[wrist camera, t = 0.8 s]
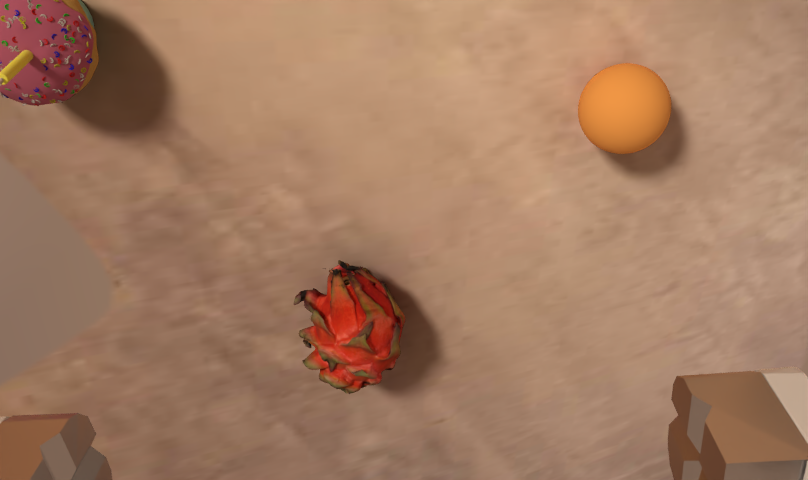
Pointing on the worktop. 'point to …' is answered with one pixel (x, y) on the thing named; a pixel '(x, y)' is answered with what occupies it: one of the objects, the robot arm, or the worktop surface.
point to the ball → (624, 108)
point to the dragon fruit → (352, 329)
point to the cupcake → (45, 50)
